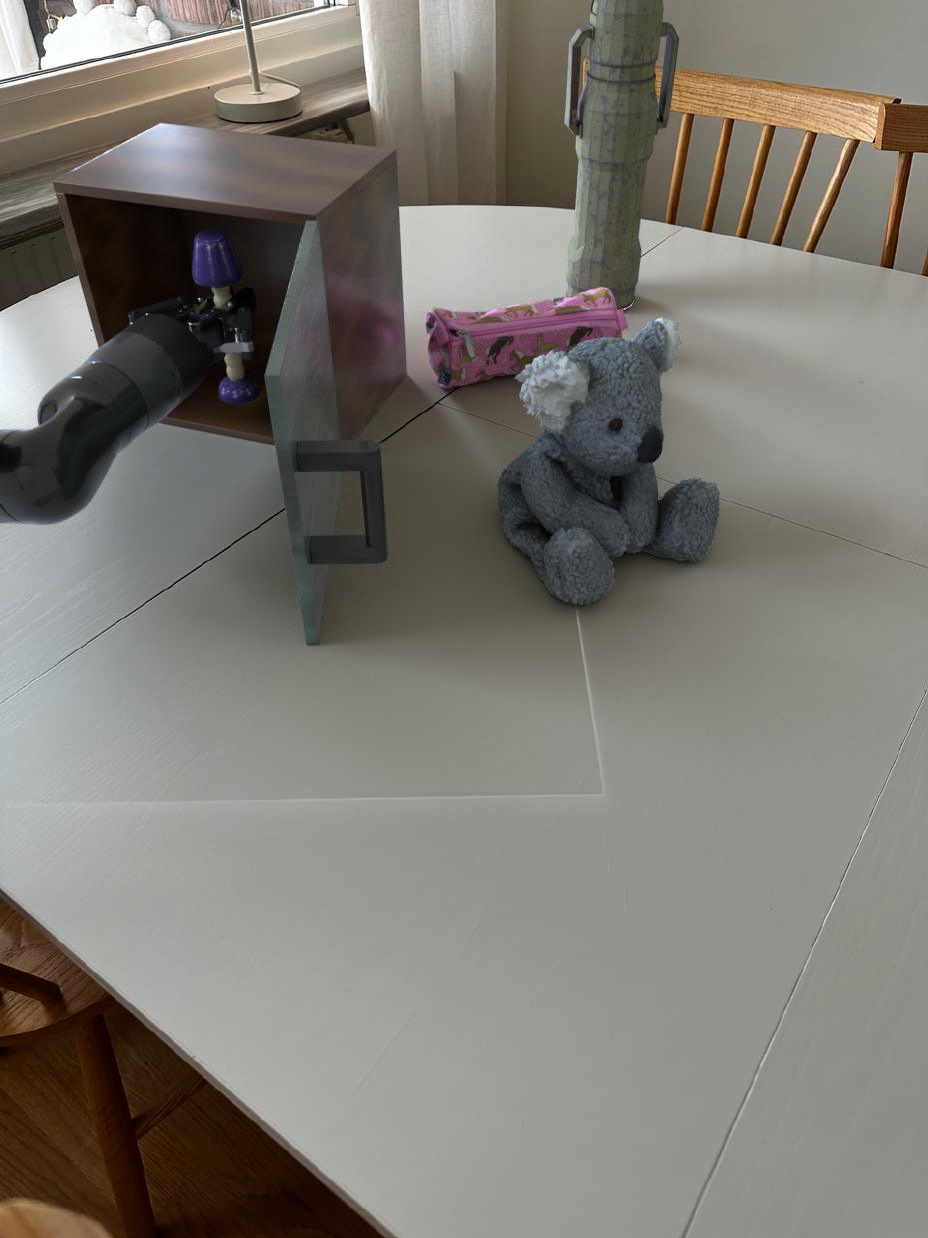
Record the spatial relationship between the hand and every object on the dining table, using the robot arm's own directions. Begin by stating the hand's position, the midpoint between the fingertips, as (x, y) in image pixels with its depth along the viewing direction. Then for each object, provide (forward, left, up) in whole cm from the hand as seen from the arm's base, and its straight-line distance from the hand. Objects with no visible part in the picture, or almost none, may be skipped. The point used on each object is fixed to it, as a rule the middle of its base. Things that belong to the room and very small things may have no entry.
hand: (240, 294), depth 96 cm
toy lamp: (0, -3, -10) cm, 10 cm away
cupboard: (-1, +3, -13) cm, 13 cm away
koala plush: (+38, -10, -13) cm, 42 cm away
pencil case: (+25, +16, -13) cm, 32 cm away
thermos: (+28, +38, -13) cm, 49 cm away
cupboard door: (+20, -18, -12) cm, 30 cm away
